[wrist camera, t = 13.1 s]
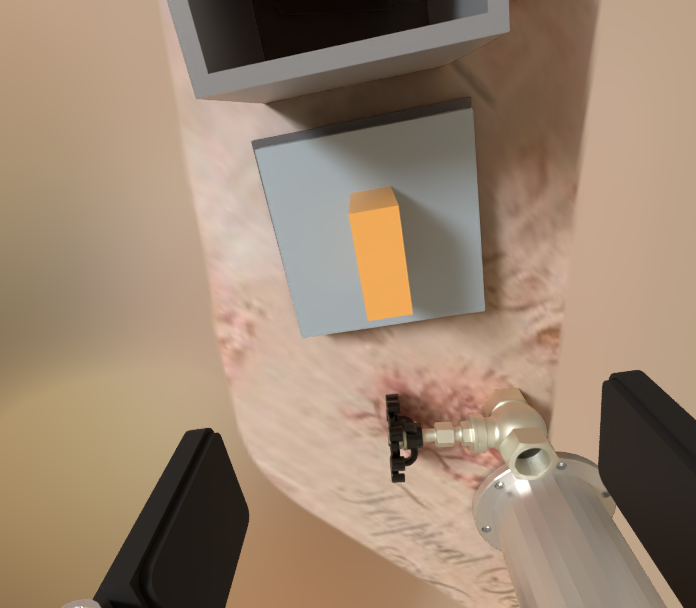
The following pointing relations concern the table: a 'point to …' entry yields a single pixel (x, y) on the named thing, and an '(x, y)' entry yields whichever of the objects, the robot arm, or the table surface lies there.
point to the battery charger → (329, 6)
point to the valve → (479, 435)
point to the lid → (378, 223)
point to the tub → (325, 64)
